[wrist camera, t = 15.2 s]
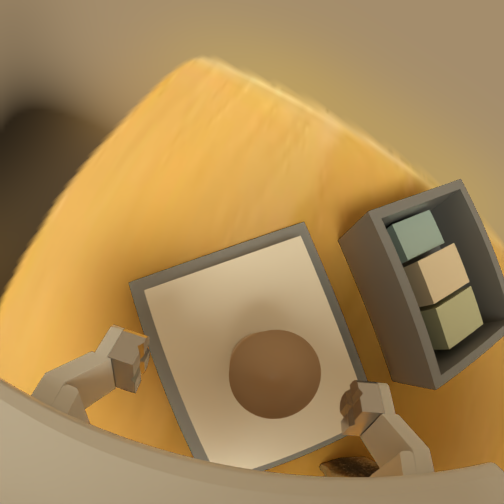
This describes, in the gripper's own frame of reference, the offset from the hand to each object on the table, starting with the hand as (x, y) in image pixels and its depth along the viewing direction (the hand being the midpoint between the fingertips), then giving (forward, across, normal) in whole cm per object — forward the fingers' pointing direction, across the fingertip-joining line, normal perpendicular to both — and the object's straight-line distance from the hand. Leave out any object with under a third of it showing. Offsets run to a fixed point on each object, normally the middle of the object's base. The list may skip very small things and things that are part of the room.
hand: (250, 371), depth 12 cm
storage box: (+16, -15, +4) cm, 22 cm away
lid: (+9, -2, +10) cm, 14 cm away
